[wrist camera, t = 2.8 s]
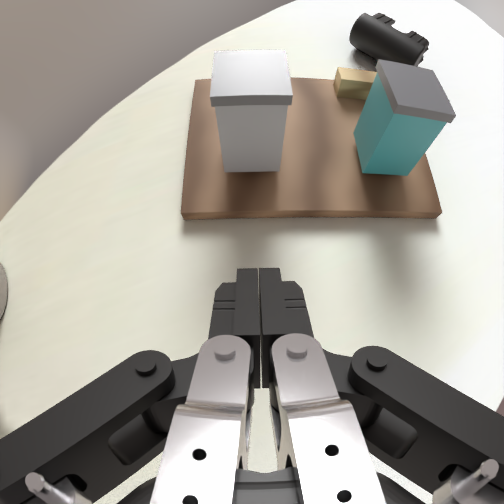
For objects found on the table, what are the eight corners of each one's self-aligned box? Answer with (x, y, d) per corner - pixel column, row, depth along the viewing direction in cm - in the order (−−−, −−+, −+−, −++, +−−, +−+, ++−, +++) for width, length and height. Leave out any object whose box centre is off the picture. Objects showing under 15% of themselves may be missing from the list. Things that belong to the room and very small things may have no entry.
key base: (184, 219, 30) (173, 198, 25) (197, 88, 35) (192, 61, 31) (435, 218, 30) (456, 200, 26) (396, 95, 35) (407, 72, 31)
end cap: (344, 52, 38) (353, 17, 32) (366, 38, 40) (375, 7, 33) (402, 88, 36) (418, 54, 30) (419, 71, 38) (434, 40, 31)
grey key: (222, 174, 28) (209, 96, 19) (223, 129, 30) (214, 51, 21) (281, 173, 28) (292, 95, 19) (278, 128, 30) (285, 50, 21)
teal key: (360, 174, 28) (398, 104, 19) (351, 131, 30) (378, 59, 21) (409, 177, 28) (456, 115, 19) (397, 135, 30) (432, 70, 21)
